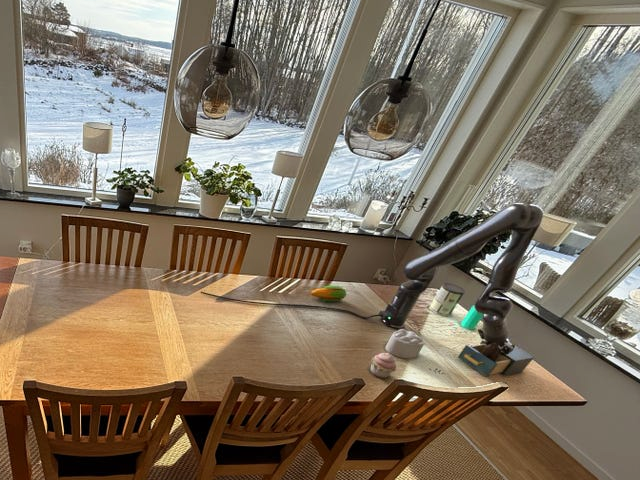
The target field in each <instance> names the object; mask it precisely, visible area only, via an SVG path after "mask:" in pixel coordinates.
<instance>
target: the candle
mask: <svg viewBox="0 0 640 480" xmlns="http://www.w3.org/2000/svg"><path fill="white" fill-rule="evenodd" d="M482 317H483V314H481V313H478V312H477V311H476V310H475V305H472V306H471V308H470V309H469V311H467V313H466V315H465V316H464V318H463V320H462V321H461V322H460V326H462V328H464V329H467V330H469V331H470V330H471V331H472V330H475V328H476V327H477V326H478V324H479V323H480V321H481V320H482V319H483V318H482Z"/></svg>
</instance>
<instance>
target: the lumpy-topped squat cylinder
mask: <svg viewBox="0 0 640 480" xmlns="http://www.w3.org/2000/svg"><path fill="white" fill-rule="evenodd" d="M425 344H426V341H425V340H424V339H422V337H420V336H419V335H418V334H417V333H416V332H415V331H410V330H406V329H405V328H399V329H398V330H395V331H394V332H393V333H392V334H391V336H390V338H389V340H388V342H387V343H386V345H385V350H386V351H387V353H390V354H391V355H392V356H395V357H399V358H402V359H413V358H414V359H415V358H417V357H418V355H419V354H420V352H421V350H422V349H423V347H424V346H425Z"/></svg>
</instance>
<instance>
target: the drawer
mask: <svg viewBox="0 0 640 480" xmlns="http://www.w3.org/2000/svg"><path fill="white" fill-rule="evenodd" d="M486 348H487V344H485V343H484V344H480V343H479V344H472V345H469V344H466V345H465V346H464V347H463V348H462V350H461V352H460V353H459V354H458V355H457V358H458V359H460V360H461V361H462V362H464V363H465V364H466V365H468V366H469V367H471V368H473V369H474V370H475V371H476V372H478V373H480V374H481V375H482V376H484V377H485V378H487V377H489V376H490V375H495V374H499V373H501V372H503V371H504V370H505V369H506V368H507V366H508V365H509V364H510V363H511V361H512V360H510V359H509V358H507V357H505V356H504V355H503V356H501V355H499V357H498V358H497V359H496V361H495V362H493V361H492V360H490V359H489V358H487V357H486V356H484V355H483V354H482V353H483V352H484V350H485V349H486Z"/></svg>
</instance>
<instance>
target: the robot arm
mask: <svg viewBox="0 0 640 480" xmlns="http://www.w3.org/2000/svg"><path fill="white" fill-rule="evenodd" d="M543 218H544V210H543V209H542V208H541V207H540V206H538V205H535V204H529V203H523V202H515V203H511V204H509V205H506V206H504V207H503V208H502V209H500V210H498V211H497V212H496V213H493V214H492V215H491V216H490V217H488V218H486V220H483V222H480V223H479V224H477V225H476V226H474V227H471V228H470V229H469V230H466V231H465V232H463V233H461V234H459V235H458V236H455V237H454V238H452V239H450V240H448V241H447V242H446V243H444V244H442V245H440V246H438V247H437V248H434V249H433V250H431V251H429V252H427V253H425V254H423V255H421V256H419V257H416V258H414V259H412V260H410V261H408V262H407V263H406V265H405V266H404V268H403V275H404V277H405V278H406V279H407V281H404V282H402V283H400V285H399V286H398V289H397V290H396V292H395V294H394V296H393V298H392V300H391V301H390V302H388V303H387V305H386V308H385V309H383V310H382V309H381V310H379V312H378V314H371V315H369V316H363V315H360V314H358V313H356V312H354V311H351V310H347V309H343V308H336V307H330V306H329V307H328V306H323V305H321V306H320V305H310V304H291V303H276V302H275V303H273V302H260V301H251V300H244V299H243V300H242V299H237V298H231V297H225V296H221V295H216V294H212V293H210V292H209V293H208V292H205V291H200V294H202V293H203V295H206V296H210V297H214V298H219V299H224V300H229V301H234V302H239V303H247V304H258V305H267V306H268V305H269V306H286V307H303V308H305V307H306V308H317V309H325V310H326V309H327V310H334V311H341V312H345V313H350V314H352V315H354V316H356V317H358V318H361V319H365V320H368V319H371V318H374V317H379V318H380V321H382V322H383V324H384V325H385V326H387V327H390V328H393V329H403V328H404V325H405V323H406V321H407V319H408V318H409V316H410V314H411V312H412V310H413V309H414V307H415V305H416V304H417V302H418V301H419V298H420V297H421V295H422V294H423V293H424V292H425V291H426V290H427V289H428V287H429V286H430V284H431V282H432V281H433V280H434V278H435V276H436V273H437V269H438V268H439V267H443V266H448V265H452V264H455V263H459V262H461V261H464V260H466V259H467V258H468V259H469V258H470V257H473V256H474V255H476V254H477V253H479V252H480V251H481V250H482V249H483V248H484V247H485V246H486V244H487V243H488V242H489V241H491V240H492V239H493V238H495V237H497V236H499V235H502V234H505V233H507V232H512V237H511V240H510V241H509V244H508V246H507V247H506V248H505V250H504V251H503V252H502V253H501V255H500V256H499V257H498V258H497V260H496V261H495V263H494V264H493V266H492V269H491V272H490V274H489V277H488V278H489V279H488V282H487V284H486V286H485V288H484V290H483V291H482V293H481V294H480V295H479V297H478V298H477V300H476V301H475V302H474V303H475V304H474V306H475V310H476V311H477V312H478V313H481V314H483V317H482V318H481V319H482V327H481V328H479V329H478V330H477V332H478V334H479V337H480V339H481V340H485V342H486V344H487V346H488V345H489V344H490V342H493V343H494V344H495V345H496V347H497V348H498V349H500V355H501V356H503V355H506V354H507V355H508V354H509V353H510V352H512V351H513V350H514V348H515V346H516V345H515V344H512V343H511V344H512V345H510V344H508V341H507V340H506V339H508V337H509V336H508V335H509V325H508V322H507V321H508V319H507V317H508V316H509V315H510V313H511V311H512V310H513V306H514V305H513V302H512V300H510V299H509V298H507V297H501V296H495V295H493V294H494V293H495V292H509V291H511V290H512V289H513V286H514V283H515V280H516V277H517V273H518V271H519V268H520V265H521V263H522V260H523V258H524V256H525V254H526V252H527V250H528V248H529V247H530V245H531V243H532V241H533V239H534V237H535V235H536V233H537V232H538V230H539V228H540V226H541V224H542V221H543Z"/></svg>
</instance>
